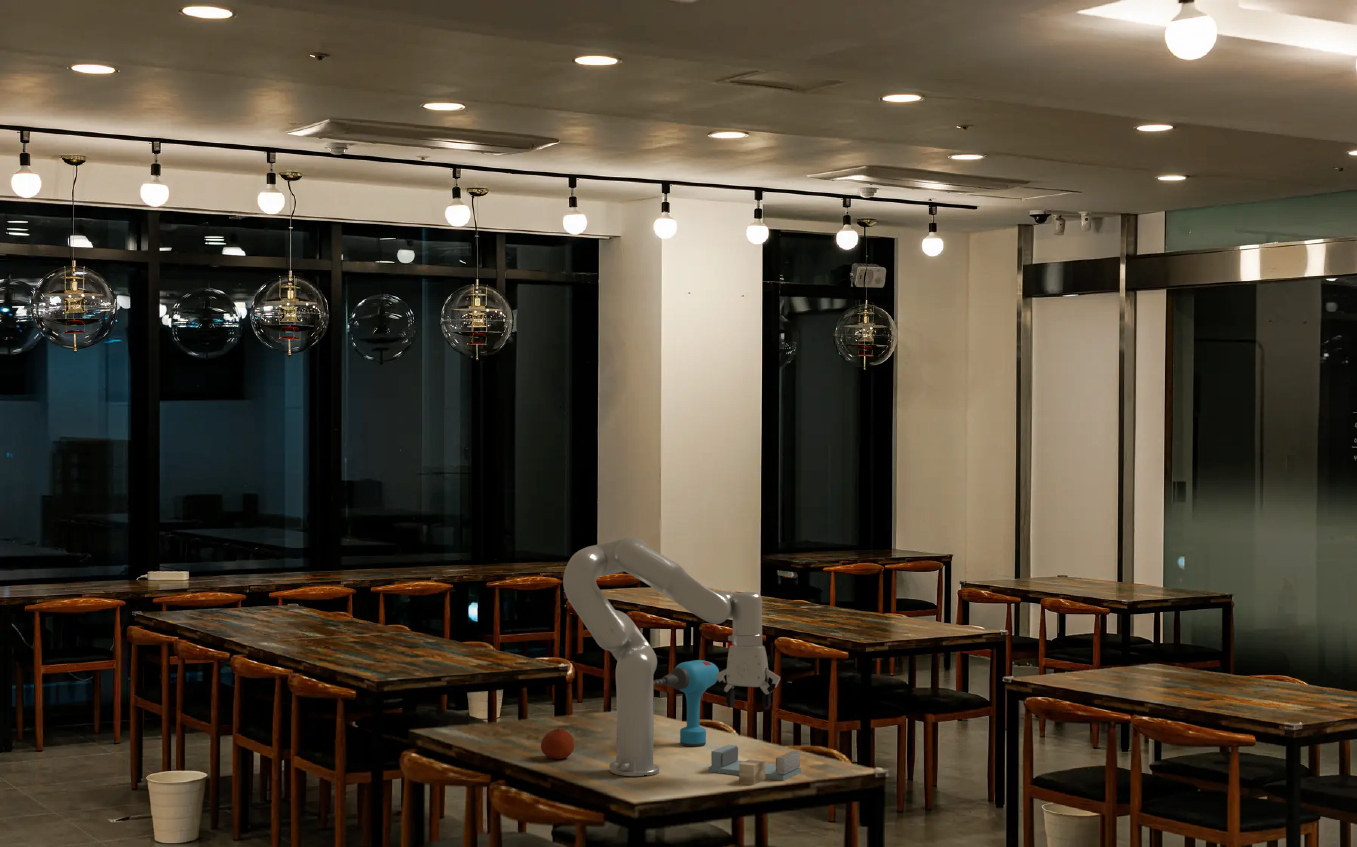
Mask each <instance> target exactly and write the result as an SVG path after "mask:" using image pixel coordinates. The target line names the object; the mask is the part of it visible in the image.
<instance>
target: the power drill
mask: <svg viewBox="0 0 1357 847" xmlns="http://www.w3.org/2000/svg"><path fill="white" fill-rule="evenodd" d="M719 672H720V670H719V668H718V666H717V665H716V664H715V663H714V662H710V661H706V660H702V659H696V660H690V661H684V662H681V663H679V664H677V665H676V666H675V667H674V668H673V669H672V670H671V671H670V673H668V674H666V675H665V676H662V678H659V679H653V686H661V685H663V686H664V687H665V686H666V687H673V689H675V690H677V691H680V692H683V693H684V694H685V698H686V726H685V727H682V728H680V730H679V744H680V745H682V746H685V747H700V746H701V747H702V746H704V745H706V743H707V729H706V728H704V727H702V726H700V713H701V712H700V711H701V709H700V708H701V707H700V706H701V698H702V696H703V694H704V693H705V692H706V691H707V689H709V688H711V687H712V686H713V685H715V684H716V683H717V682H718V678H717V676H716V674H717V673H719Z"/></svg>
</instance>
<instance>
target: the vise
mask: <svg viewBox="0 0 1357 847" xmlns="http://www.w3.org/2000/svg"><path fill="white" fill-rule="evenodd" d="M710 757H711V758H710V760H711V762H710V763H711V765H710V766H708V772H709V773H716V772H720V773H719V774H724V773H726V775H727V774H728V775H734V776H739V764H740V763H742V762H744V761H745V760H739V747H738V745H736V744H726V745H724V746H721V747H719V748H716V749H713V750H711V756H710ZM801 771H802V768H801V767H799V768H797V769H795V770H792V771H790V772H788V773H786V774H777V772H776V764H773V763H772V764H771V763H766V774H765V780H766V779H767V780H773V781H776V780H777V781H783V782H784V781H786V780H788V779H789V778H792V777H795V776H796V775H798V774H801V773H802V772H801Z"/></svg>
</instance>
